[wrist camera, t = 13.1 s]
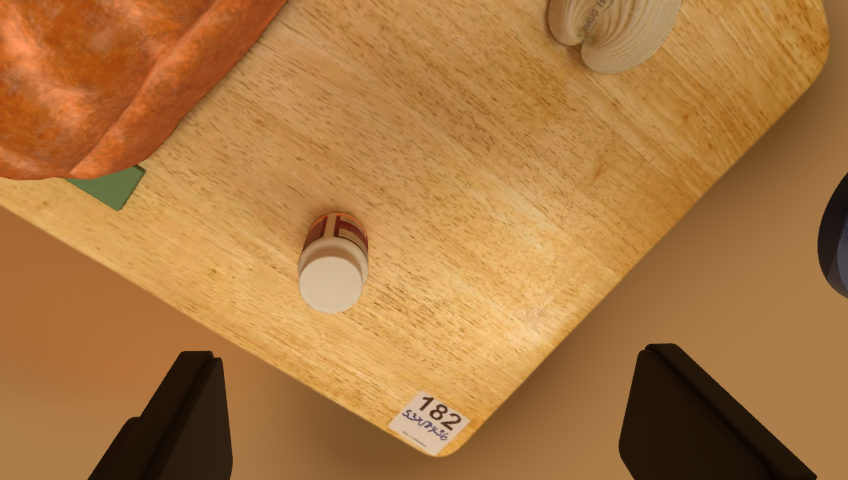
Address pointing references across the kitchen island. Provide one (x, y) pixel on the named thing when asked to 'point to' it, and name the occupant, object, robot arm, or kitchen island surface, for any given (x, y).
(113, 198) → the green block
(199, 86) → the bread
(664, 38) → the seashell
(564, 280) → the kitchen island surface
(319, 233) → the pill bottle
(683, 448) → the robot arm
